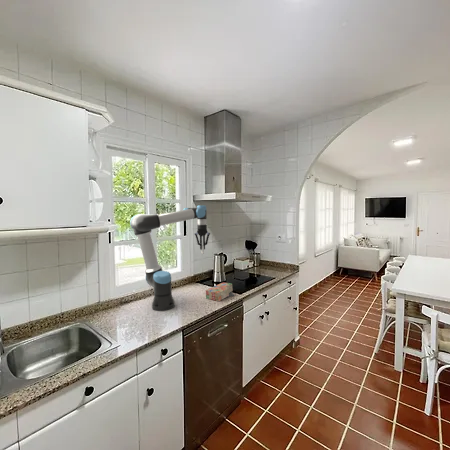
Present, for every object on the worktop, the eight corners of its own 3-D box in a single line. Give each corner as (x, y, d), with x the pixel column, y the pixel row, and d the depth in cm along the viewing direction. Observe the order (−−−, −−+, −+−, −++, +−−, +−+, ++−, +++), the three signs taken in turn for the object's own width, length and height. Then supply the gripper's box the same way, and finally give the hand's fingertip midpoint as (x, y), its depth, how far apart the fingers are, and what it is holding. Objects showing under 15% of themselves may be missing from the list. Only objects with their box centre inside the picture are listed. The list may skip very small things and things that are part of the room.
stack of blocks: (222, 282, 201) (235, 283, 194) (223, 289, 202) (235, 291, 194) (205, 290, 184) (218, 292, 177) (206, 298, 185) (218, 301, 177)
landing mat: (221, 297, 186) (221, 296, 186) (214, 288, 207) (214, 288, 207) (234, 295, 189) (234, 295, 189) (225, 287, 210) (225, 286, 210)
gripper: (194, 225, 196) (195, 254, 197) (210, 224, 199) (211, 253, 200) (193, 224, 203) (194, 253, 204) (209, 224, 206) (209, 252, 208)
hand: (202, 253), depth 202 cm, fingers closed
